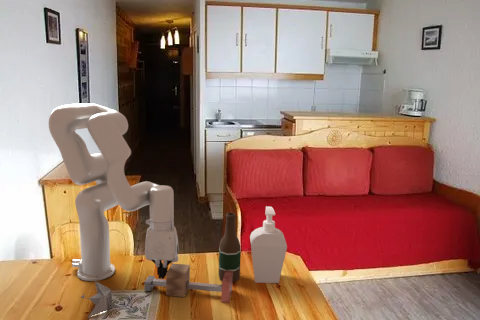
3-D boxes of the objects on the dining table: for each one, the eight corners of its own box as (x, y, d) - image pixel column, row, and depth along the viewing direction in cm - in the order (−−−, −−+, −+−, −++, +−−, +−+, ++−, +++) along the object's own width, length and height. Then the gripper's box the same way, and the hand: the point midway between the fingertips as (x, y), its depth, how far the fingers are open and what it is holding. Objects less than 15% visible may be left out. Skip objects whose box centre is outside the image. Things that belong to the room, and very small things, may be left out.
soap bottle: (281, 270, 149) (285, 204, 143) (284, 284, 139) (289, 214, 133) (248, 269, 148) (251, 203, 143) (249, 283, 138) (252, 213, 133)
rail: (142, 294, 129) (142, 274, 128) (150, 282, 137) (150, 263, 135) (228, 302, 126) (229, 282, 125) (232, 289, 134) (232, 270, 133)
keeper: (166, 295, 129) (166, 273, 127) (172, 284, 136) (172, 263, 134) (184, 296, 128) (184, 274, 127) (189, 285, 135) (189, 264, 133)
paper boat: (111, 315, 115) (77, 312, 112) (106, 325, 119) (74, 322, 116) (117, 278, 124) (86, 273, 121) (113, 288, 128) (83, 284, 125)
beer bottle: (237, 284, 138) (239, 218, 133) (215, 281, 139) (217, 216, 134) (241, 274, 145) (244, 211, 140) (221, 271, 146) (222, 209, 142)
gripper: (135, 226, 125) (136, 280, 129) (181, 230, 123) (181, 284, 127) (143, 218, 132) (144, 269, 136) (187, 221, 131) (187, 273, 134)
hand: (162, 276), depth 131 cm, fingers closed
